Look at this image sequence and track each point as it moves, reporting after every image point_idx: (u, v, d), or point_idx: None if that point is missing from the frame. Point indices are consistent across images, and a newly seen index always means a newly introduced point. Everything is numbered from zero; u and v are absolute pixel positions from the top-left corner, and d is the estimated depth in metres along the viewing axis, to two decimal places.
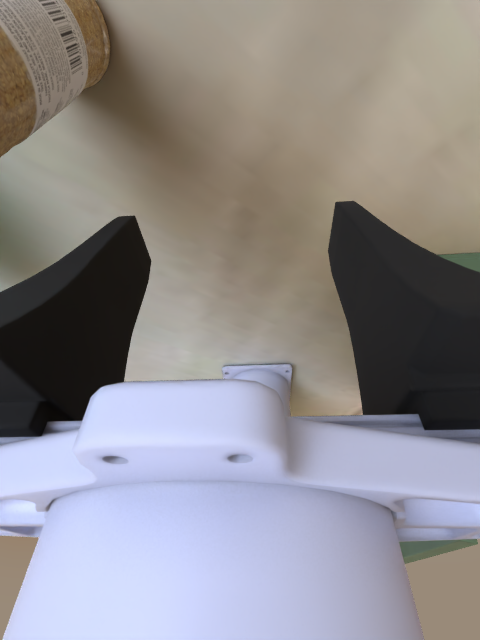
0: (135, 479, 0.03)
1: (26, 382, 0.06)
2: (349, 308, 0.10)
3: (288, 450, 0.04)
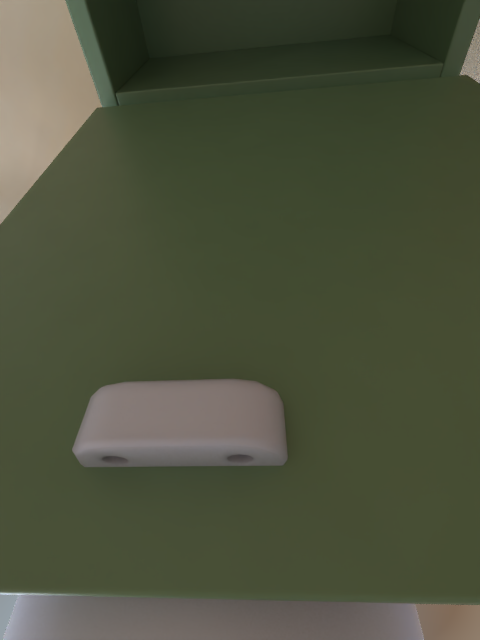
0: None
1: None
2: None
3: None
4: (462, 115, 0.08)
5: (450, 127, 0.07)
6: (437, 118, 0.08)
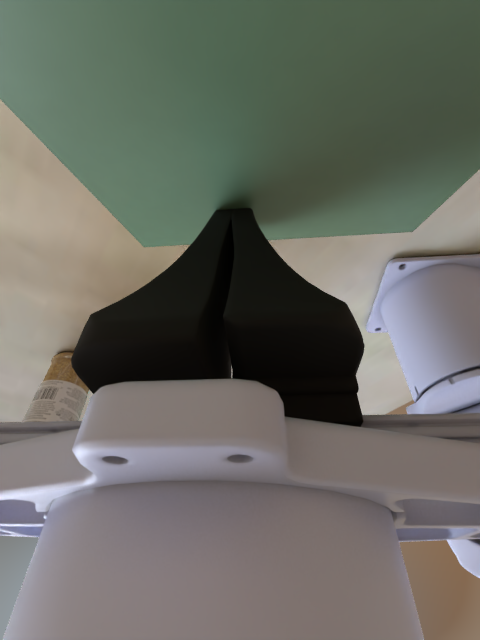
0: (135, 479, 0.03)
1: (206, 376, 0.06)
2: None
3: (288, 450, 0.04)
4: None
5: None
6: None
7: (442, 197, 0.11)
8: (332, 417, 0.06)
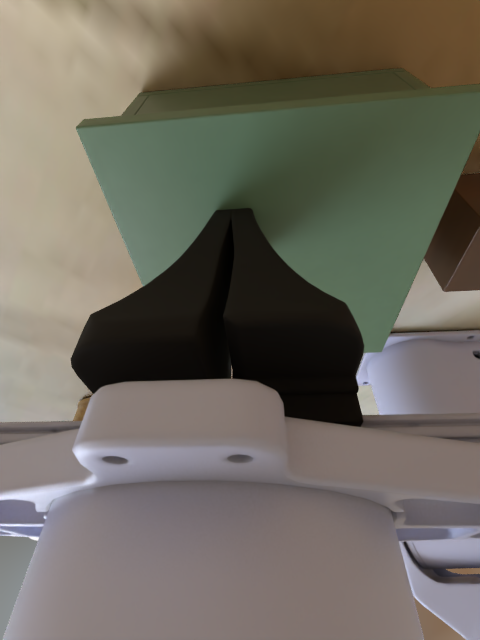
0: (135, 479, 0.03)
1: (206, 377, 0.06)
2: None
3: (288, 450, 0.04)
4: None
5: None
6: None
7: (390, 320, 0.15)
8: (332, 417, 0.06)
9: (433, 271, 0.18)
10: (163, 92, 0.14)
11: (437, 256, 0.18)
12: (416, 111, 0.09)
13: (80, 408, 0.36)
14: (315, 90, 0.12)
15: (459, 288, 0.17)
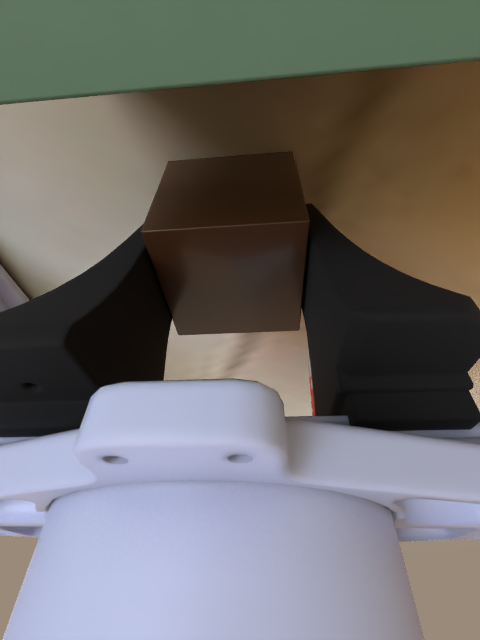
0: (135, 479, 0.03)
1: (92, 380, 0.06)
2: (306, 310, 0.10)
3: (288, 450, 0.04)
4: None
5: None
6: None
7: (63, 71, 0.04)
8: (448, 415, 0.06)
9: (156, 201, 0.09)
10: None
11: (187, 194, 0.09)
12: None
13: None
14: None
15: (156, 254, 0.09)
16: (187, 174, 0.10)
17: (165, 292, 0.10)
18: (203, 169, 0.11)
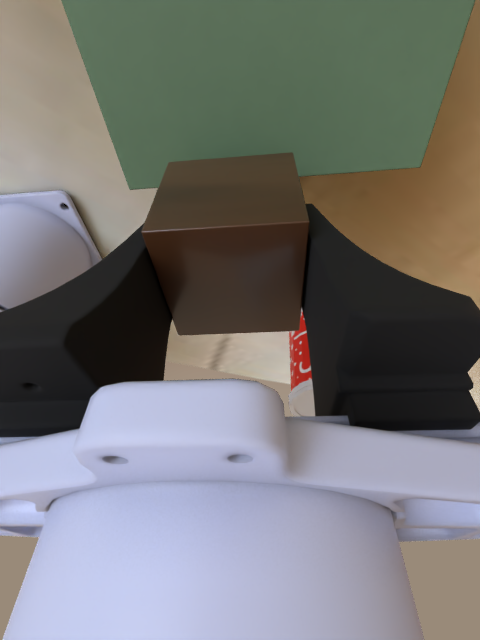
0: (135, 479, 0.03)
1: (92, 380, 0.06)
2: (306, 310, 0.10)
3: (288, 450, 0.04)
4: None
5: None
6: None
7: None
8: (448, 415, 0.06)
9: (156, 201, 0.09)
10: None
11: (187, 195, 0.09)
12: (429, 111, 0.11)
13: None
14: None
15: (156, 254, 0.09)
16: (187, 175, 0.10)
17: (166, 293, 0.10)
18: (203, 170, 0.11)
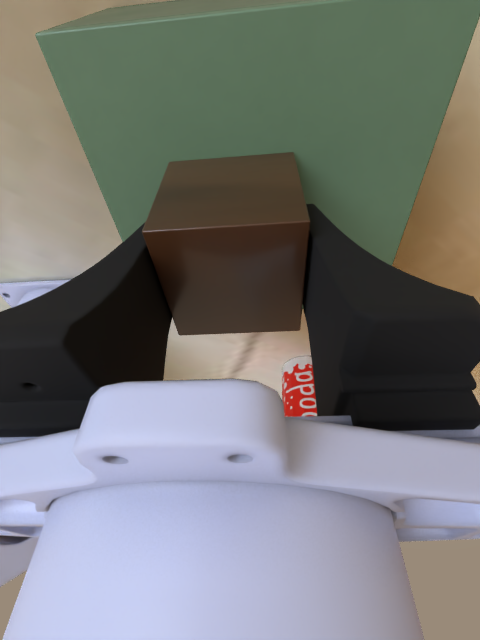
0: (135, 479, 0.03)
1: (91, 380, 0.06)
2: (307, 310, 0.10)
3: (288, 450, 0.04)
4: None
5: None
6: None
7: None
8: (451, 415, 0.06)
9: (157, 201, 0.09)
10: None
11: (188, 194, 0.09)
12: None
13: None
14: None
15: (157, 254, 0.09)
16: (188, 174, 0.10)
17: (166, 293, 0.10)
18: (204, 169, 0.11)
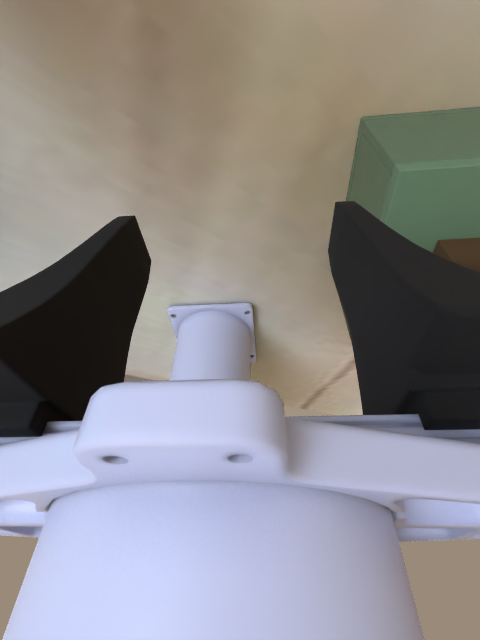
0: (135, 479, 0.03)
1: (25, 382, 0.06)
2: (349, 308, 0.10)
3: (288, 450, 0.04)
4: None
5: None
6: None
7: None
8: None
9: None
10: None
11: None
12: None
13: None
14: None
15: None
16: (467, 253, 0.15)
17: None
18: (475, 249, 0.15)
